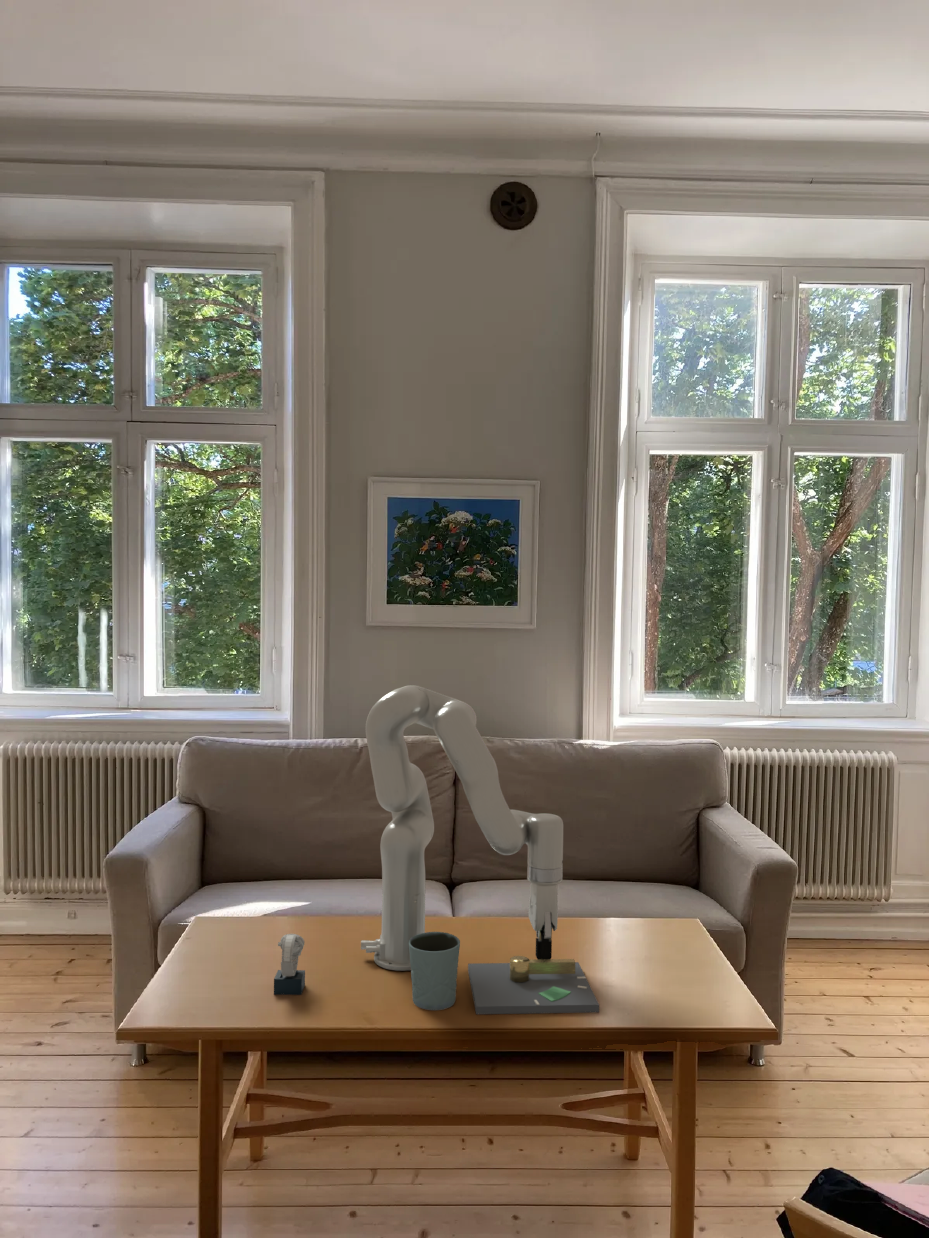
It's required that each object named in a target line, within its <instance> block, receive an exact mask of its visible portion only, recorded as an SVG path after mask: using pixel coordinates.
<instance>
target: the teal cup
mask: <svg viewBox="0 0 929 1238" xmlns="http://www.w3.org/2000/svg"><path fill="white" fill-rule="evenodd" d="M460 947H461V940H460V939H459V938H458V936H456V935H454V934H451V933H448V932H442V931H425V933H421V934H417V935H415V936H413V937H412V938H411V939H410V940H409V953H410V964H411V969H412V970H410V975H411V976H410V978H411V985H412V986H411V989H412V990H411V991H412V993H411V994H412V995H411V996H412V1002H413V1005H415V1006H416V1007H418V1008H419V1009H423V1010H427V1011H441V1010H446V1009H449V1008H451V1007H453V1006H454V1004H455V1002H456V1001H457V1000H456V998H457V985H458V983H457V979H458V970H459V969H458V967H459V957H460Z"/></svg>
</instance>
